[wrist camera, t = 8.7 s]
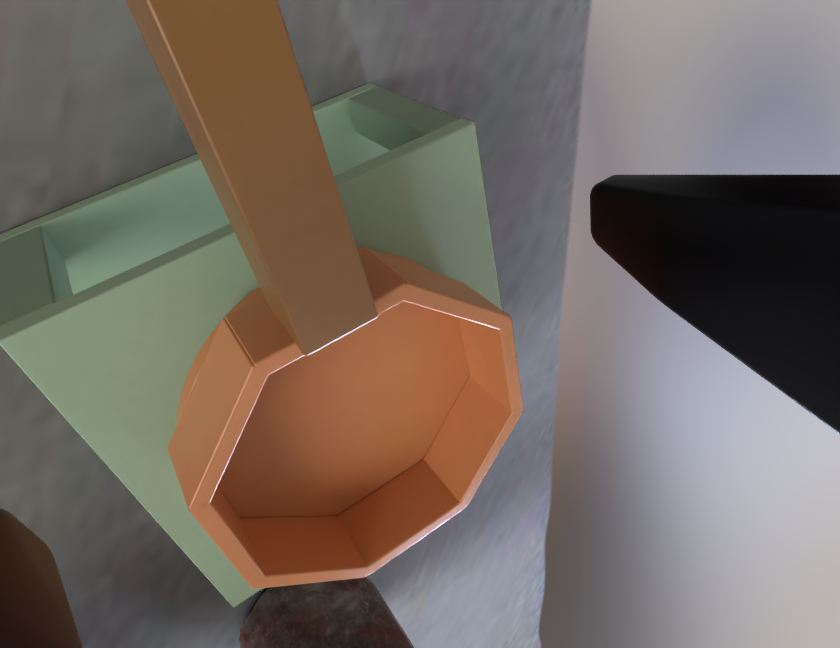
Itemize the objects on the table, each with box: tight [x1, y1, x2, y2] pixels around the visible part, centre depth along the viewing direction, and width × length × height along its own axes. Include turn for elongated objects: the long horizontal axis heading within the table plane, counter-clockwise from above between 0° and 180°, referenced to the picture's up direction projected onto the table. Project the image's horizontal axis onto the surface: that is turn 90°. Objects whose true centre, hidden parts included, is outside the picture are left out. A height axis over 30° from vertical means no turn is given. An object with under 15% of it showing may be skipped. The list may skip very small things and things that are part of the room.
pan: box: [126, 0, 523, 589], centre depth 14 cm, size 16×9×3 cm, turn 12°
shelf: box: [0, 83, 502, 607], centre depth 20 cm, size 12×12×6 cm
